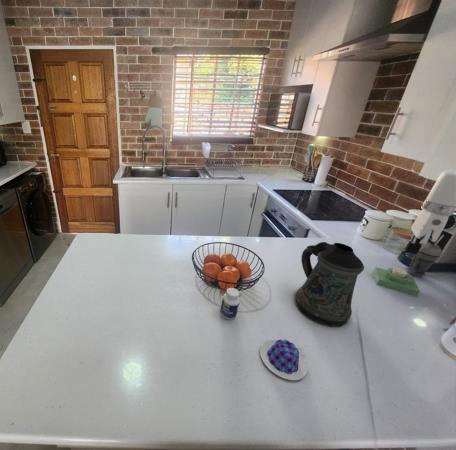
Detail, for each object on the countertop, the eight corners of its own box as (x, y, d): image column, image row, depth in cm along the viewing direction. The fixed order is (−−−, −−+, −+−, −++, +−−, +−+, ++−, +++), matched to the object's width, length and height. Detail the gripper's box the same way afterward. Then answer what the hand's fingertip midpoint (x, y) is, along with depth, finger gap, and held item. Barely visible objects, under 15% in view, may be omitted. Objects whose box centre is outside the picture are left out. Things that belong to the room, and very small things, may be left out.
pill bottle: (218, 317, 82) (223, 294, 78) (221, 306, 86) (225, 284, 82) (235, 322, 80) (241, 299, 76) (236, 310, 85) (242, 288, 80)
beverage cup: (401, 267, 112) (424, 228, 103) (423, 273, 108) (449, 233, 99) (404, 275, 106) (428, 234, 97) (427, 282, 103) (455, 240, 94)
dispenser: (408, 284, 101) (415, 273, 98) (414, 299, 93) (423, 287, 90) (371, 274, 106) (377, 262, 103) (374, 287, 98) (381, 275, 96)
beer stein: (343, 337, 77) (378, 272, 65) (278, 304, 88) (299, 244, 77) (351, 308, 88) (382, 248, 76) (292, 283, 99) (312, 227, 88)
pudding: (313, 386, 63) (320, 373, 60) (264, 377, 64) (269, 364, 62) (297, 345, 73) (303, 333, 71) (255, 338, 75) (259, 326, 73)
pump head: (403, 274, 98) (406, 270, 97) (406, 279, 95) (408, 275, 94) (390, 270, 99) (393, 266, 99) (392, 275, 96) (395, 271, 95)
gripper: (462, 217, 77) (429, 265, 85) (445, 203, 88) (417, 246, 96) (430, 211, 80) (401, 258, 88) (417, 198, 91) (393, 240, 100)
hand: (410, 252), depth 92 cm, fingers closed
